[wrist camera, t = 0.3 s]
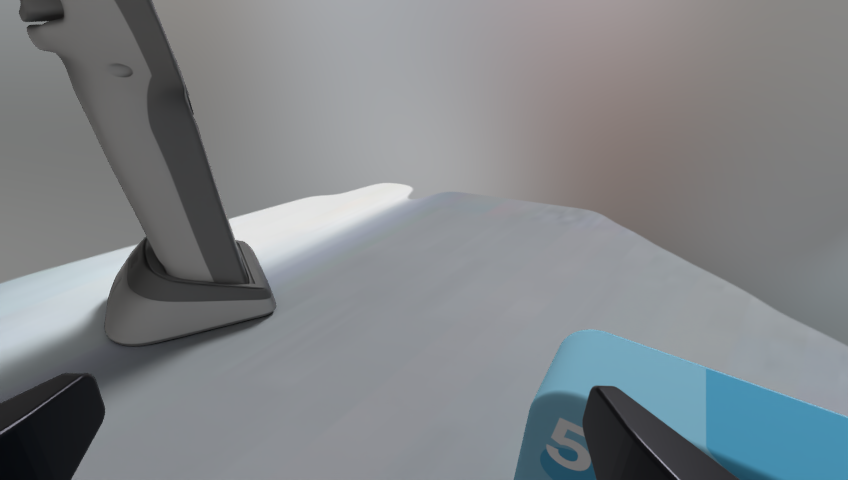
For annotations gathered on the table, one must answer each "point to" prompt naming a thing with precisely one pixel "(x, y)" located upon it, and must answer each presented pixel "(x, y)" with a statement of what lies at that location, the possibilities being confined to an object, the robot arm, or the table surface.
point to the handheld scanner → (153, 173)
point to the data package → (678, 415)
